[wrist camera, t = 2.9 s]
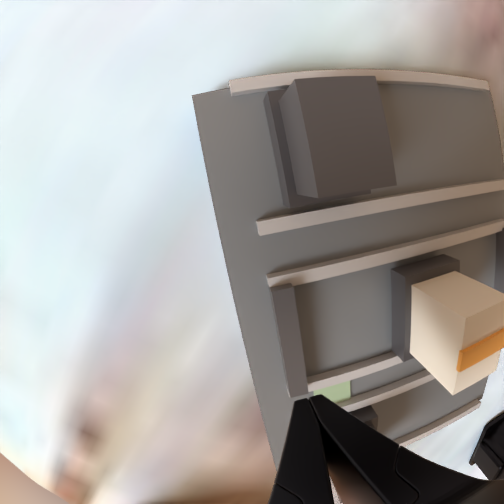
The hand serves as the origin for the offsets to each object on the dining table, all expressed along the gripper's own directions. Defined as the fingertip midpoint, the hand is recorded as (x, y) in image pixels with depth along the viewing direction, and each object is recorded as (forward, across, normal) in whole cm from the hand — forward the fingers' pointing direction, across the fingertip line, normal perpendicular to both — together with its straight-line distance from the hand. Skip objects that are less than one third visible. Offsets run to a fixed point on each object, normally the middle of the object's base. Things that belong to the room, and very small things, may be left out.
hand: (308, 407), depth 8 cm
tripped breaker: (+4, -6, 0) cm, 8 cm away
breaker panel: (+6, -6, 0) cm, 8 cm away
